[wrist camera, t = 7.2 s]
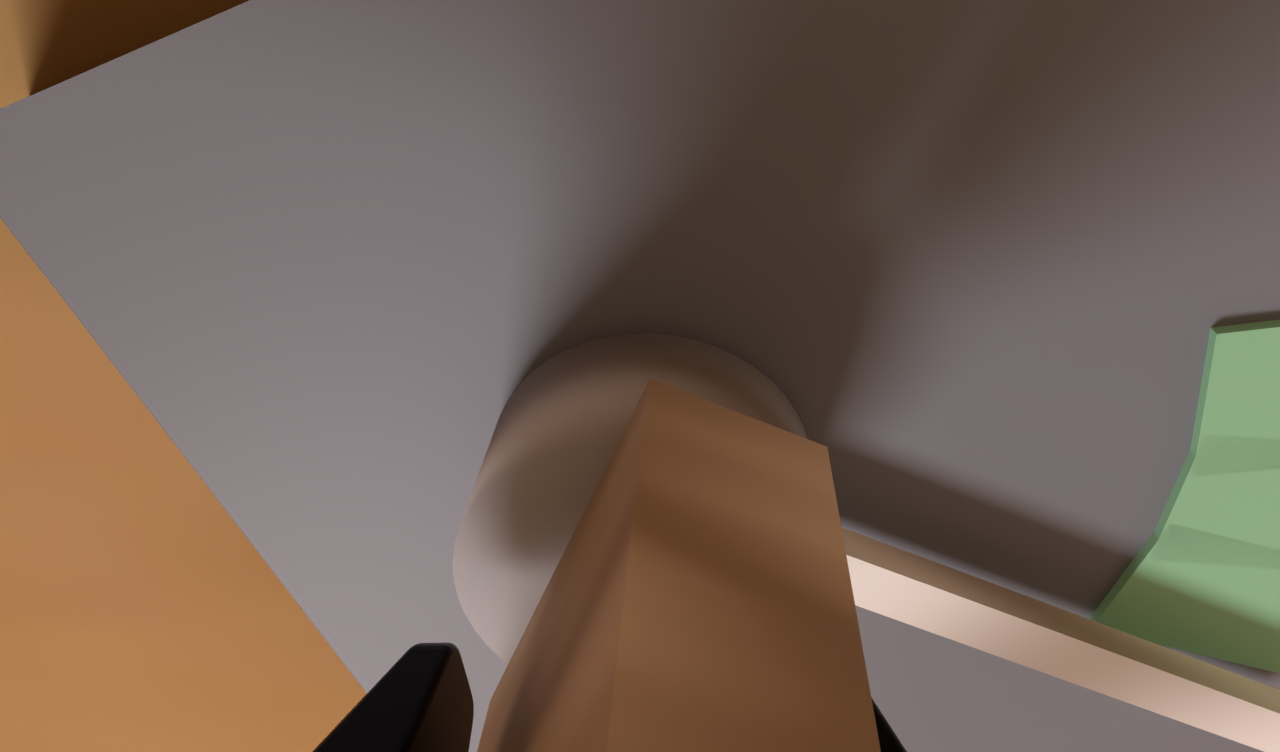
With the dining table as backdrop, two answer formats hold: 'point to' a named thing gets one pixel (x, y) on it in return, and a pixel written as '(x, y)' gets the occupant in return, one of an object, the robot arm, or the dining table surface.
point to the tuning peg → (731, 576)
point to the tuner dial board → (714, 292)
